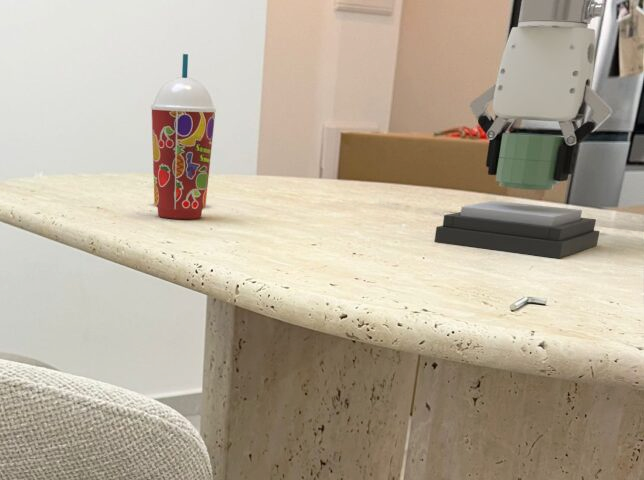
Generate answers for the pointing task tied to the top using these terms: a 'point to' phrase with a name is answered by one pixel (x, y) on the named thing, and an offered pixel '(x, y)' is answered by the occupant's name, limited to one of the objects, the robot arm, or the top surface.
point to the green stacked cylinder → (528, 161)
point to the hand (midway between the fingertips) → (527, 176)
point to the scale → (518, 235)
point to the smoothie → (182, 146)
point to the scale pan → (522, 213)
